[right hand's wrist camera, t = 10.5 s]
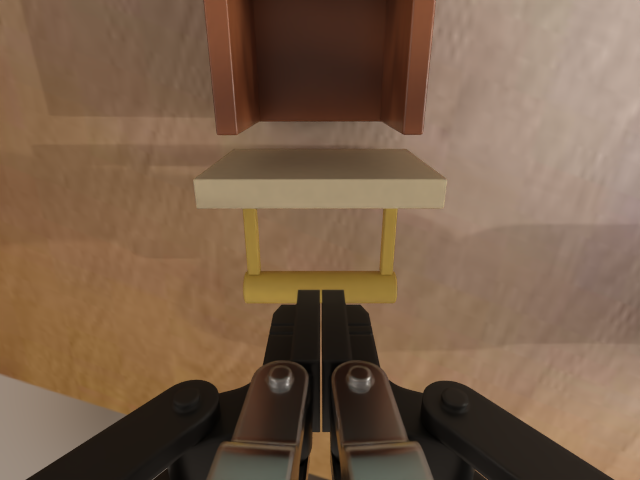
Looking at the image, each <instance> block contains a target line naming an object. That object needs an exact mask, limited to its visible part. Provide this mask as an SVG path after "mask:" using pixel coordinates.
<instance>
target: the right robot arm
mask: <svg viewBox="0 0 640 480" xmlns="http://www.w3.org/2000/svg"><path fill="white" fill-rule="evenodd" d="M312 432H320V290H298V295H297V304H296V305H281V306H280V307H279V308H278V309H277V310H276V311H275V313H274V314H273V318H272V323H271V328H270V334H269V338H268V343H267V347H266V352H265V357H264V362H263V366H262V367H260V368H259V369H258V370H257V371H256V372H255V373H254V375H253V377H252V380H251V382H250V383H249V384H247V385H245V386H243V387H241V388H238V389H235V390H231V391H227V392H223V393H218V390H217V388H216V387H215V386H214V385H213V384H211V383H209V382H207V381H203V380H189V381H185V382H181V383H179V384H176V385H174V386H172V387H171V388H169V389H168V390H166V391H164V392H163V393H161V394H160V395H158V396H157V397H155V398H153V399H152V400H150V401H149V402H147V403H146V404H144V405H142V406H141V407H139V408H138V409H136V410H135V411H133V412H131V413H130V414H128V415H127V416H125V417H124V418H122V419H120V420H119V421H117V422H116V423H114V424H113V425H111V426H109V427H108V428H106V429H105V430H103V431H102V432H100V433H98V434H97V435H95V436H94V437H92V438H91V439H89V440H87V441H86V442H84V443H83V444H81V445H80V446H78V447H76V448H75V449H73V450H72V451H70V452H69V453H67V454H65V455H64V456H62V457H61V458H59V459H58V460H56V461H55V462H53V463H51V464H50V465H48V466H47V467H45V468H44V469H42V470H40V471H39V472H37V473H36V474H34V475H33V476H31V477H29V478H28V479H26V480H152V479H153V478H155V477H156V476H157V475H158V474H160V473H161V472H162V471H163V470H165V469H166V468H167V469H166V470H165V471H163V472H162V473H161V474H160V475H158V476H157V477H156V478H155V479H153V480H308V472H309V463H310V452H311V449H312ZM322 432H330V445H331V446H330V463H331V472H332V480H487V479H488V480H614V479H612V478H611V477H609V476H607V475H606V474H604V473H603V472H601V471H600V470H598V469H597V468H595V467H593V466H592V465H590V464H589V463H587V462H586V461H584V460H582V459H581V458H579V457H578V456H576V455H575V454H573V453H571V452H570V451H568V450H567V449H565V448H564V447H562V446H560V445H559V444H557V443H556V442H554V441H553V440H551V439H549V438H548V437H546V436H545V435H543V434H542V433H540V432H538V431H537V430H535V429H534V428H532V427H531V426H529V425H527V424H526V423H524V422H523V421H521V420H520V419H518V418H516V417H515V416H513V415H512V414H510V413H509V412H507V411H505V410H504V409H502V408H501V407H499V406H498V405H496V404H494V403H493V402H491V401H490V400H488V399H487V398H485V397H483V396H482V395H480V394H479V393H477V392H476V391H474V390H473V389H471V388H469V387H467V386H465V385H463V384H460V383H457V382H453V381H438V382H434V383H432V384H430V385H428V386H427V387H426V388H425V390H424V392H423V393H420V392H416V391H412V390H408V389H405V388H402V387H400V386H397V385H396V384H394V383H392V382H391V381H390V380H388V377H387V375H386V373H385V372H384V371H383V370H382V369H381V368H380V365H379V360H378V355H377V351H376V346H375V341H374V337H373V332H372V327H371V322H370V318H369V313H368V312H367V311H366V310H365V309H364V308H363V307H362V306H361V305H346V303H345V295H344V290H322ZM475 470H477V471H478V472H479V473H480V474H482V475H483V476H484V477H485V478H487V479H485V478H484V477H483V476H482V475H480V474H479V473H478V472H477V471H475Z"/></svg>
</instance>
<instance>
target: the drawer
mask: <svg viewBox="0 0 640 480" xmlns="http://www.w3.org/2000/svg"><path fill="white" fill-rule="evenodd" d="M435 4H436V0H204V9H205V19H206V30H207V40H208V50H209V60H210V70H211V80H212V91H213V101H214V111H215V121H216V131H217V135H238V134H239V133H241V132H243V131H244V130H246V129H248V128H249V127H251V126H253V125H254V124H256V123H258V122H259V121H382V122H383V123H385V124H387V125H388V126H390V127H392V128H393V129H395V130H397V131H398V132H400V133H402V134H404V135H421V134H422V133H423V129H424V119H425V108H426V98H427V87H428V77H429V67H430V56H431V46H432V35H433V25H434V14H435ZM193 184H194V192H195V200H196V207H197V209H243V219H244V232H245V244H246V257H247V269H248V271H247V272H246V273H245V276H244V282H243V295H244V300H245V302H246V303H297V295H298V290H320V303H322V290H344V295H345V303H395V301H396V298H397V279H396V275H395V272H394V271H393V261H394V248H395V235H396V222H397V209H442V208H444V201H445V193H446V185H447V179H446V178H445V177H443V176H442V175H440V174H439V173H438V172H436V171H435V170H434V169H432V168H431V167H430V166H428V165H427V164H426V163H424V162H423V161H422V160H420V159H419V158H418V157H416V156H415V155H414V154H412V153H411V152H409V151H408V150H407V149H234V150H232V151H231V152H230V153H228V154H227V155H226V156H224V157H223V158H222V159H220V160H219V161H218V162H216V163H215V164H214V165H212V166H211V167H209V168H208V169H207V170H205V171H204V172H203V173H201V174H200V175H199V176H197V177H196V178H195V179H193ZM257 209H383V223H382V239H381V254H380V271H261V264H260V249H259V234H258V218H257Z"/></svg>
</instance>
